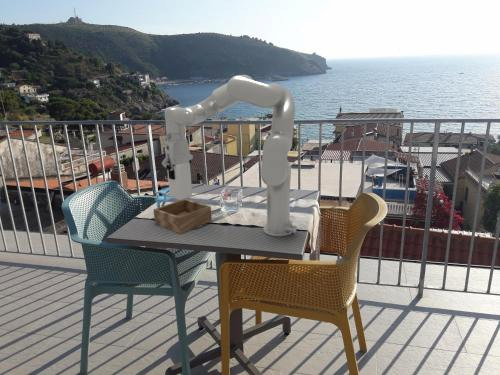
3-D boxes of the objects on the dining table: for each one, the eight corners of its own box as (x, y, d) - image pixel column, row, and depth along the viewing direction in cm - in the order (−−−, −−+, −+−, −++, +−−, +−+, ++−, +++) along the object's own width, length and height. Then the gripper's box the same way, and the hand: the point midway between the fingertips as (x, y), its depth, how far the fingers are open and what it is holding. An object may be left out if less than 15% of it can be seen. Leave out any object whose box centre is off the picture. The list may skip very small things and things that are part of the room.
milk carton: (192, 196, 169) (189, 154, 164) (179, 200, 164) (175, 157, 159) (182, 193, 174) (179, 152, 168) (169, 197, 169) (165, 155, 163)
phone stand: (164, 207, 192) (161, 185, 188) (177, 209, 188) (175, 186, 185) (154, 213, 185) (151, 189, 182) (168, 215, 182) (165, 191, 178)
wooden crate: (211, 220, 174) (210, 206, 172) (181, 233, 161) (179, 218, 159) (185, 212, 185) (184, 198, 183) (155, 223, 172) (153, 209, 170)
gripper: (164, 140, 153) (168, 183, 158) (197, 134, 165) (200, 173, 170) (153, 138, 157) (157, 180, 162) (186, 133, 170) (188, 171, 175)
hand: (179, 176), depth 166 cm, fingers closed on milk carton, 7 cm apart
